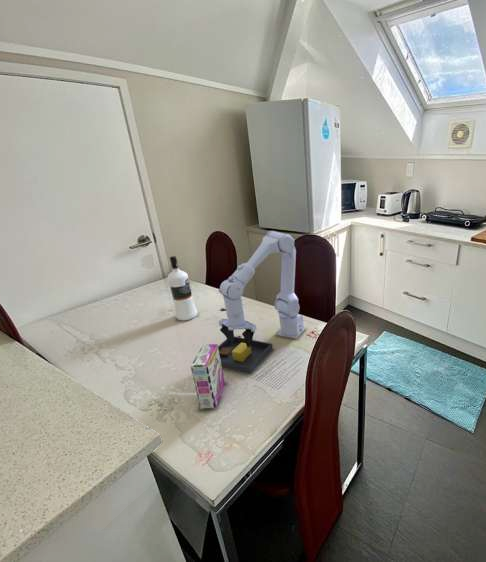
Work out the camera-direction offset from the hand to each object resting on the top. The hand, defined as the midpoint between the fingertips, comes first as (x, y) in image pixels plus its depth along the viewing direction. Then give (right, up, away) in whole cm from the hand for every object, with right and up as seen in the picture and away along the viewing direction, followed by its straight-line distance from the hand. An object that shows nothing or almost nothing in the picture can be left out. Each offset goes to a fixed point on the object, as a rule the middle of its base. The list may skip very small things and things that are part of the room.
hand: (240, 344), depth 116 cm
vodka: (-36, +7, +32) cm, 48 cm away
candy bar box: (-3, -14, -16) cm, 21 cm away
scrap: (-7, -4, +4) cm, 9 cm away
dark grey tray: (-1, -5, +3) cm, 6 cm away
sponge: (0, -5, +2) cm, 6 cm away
